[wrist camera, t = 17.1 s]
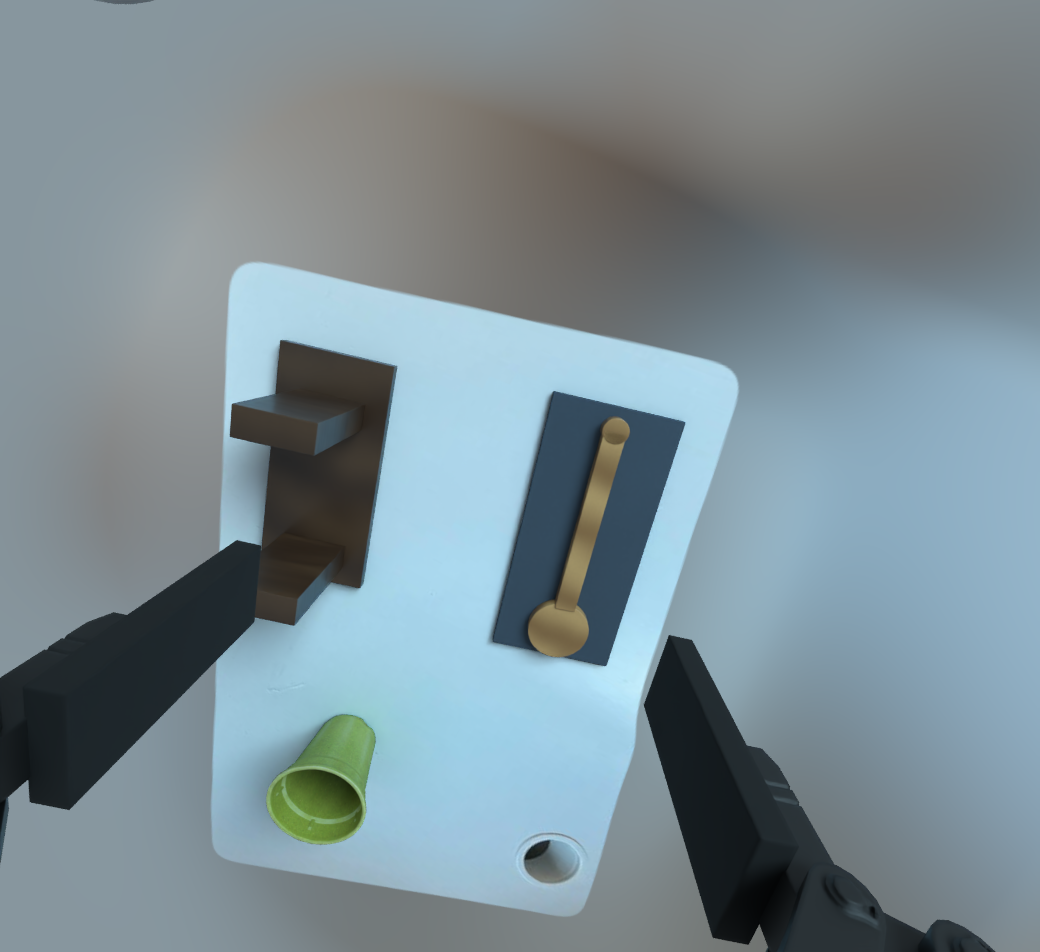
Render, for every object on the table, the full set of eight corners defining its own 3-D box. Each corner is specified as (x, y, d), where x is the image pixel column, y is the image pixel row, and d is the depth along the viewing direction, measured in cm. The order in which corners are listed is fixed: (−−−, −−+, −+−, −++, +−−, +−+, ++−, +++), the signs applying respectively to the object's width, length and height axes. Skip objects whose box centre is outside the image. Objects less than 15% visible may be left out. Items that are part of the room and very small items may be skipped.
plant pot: (304, 697, 54) (262, 763, 45) (391, 704, 54) (364, 772, 45) (308, 765, 56) (269, 840, 48) (390, 772, 56) (365, 848, 48)
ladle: (584, 408, 44) (586, 410, 42) (650, 424, 44) (653, 426, 43) (522, 644, 50) (521, 651, 49) (579, 656, 51) (580, 664, 49)
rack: (285, 339, 43) (205, 340, 33) (397, 366, 44) (353, 375, 33) (264, 562, 49) (191, 624, 39) (363, 583, 50) (317, 650, 39)
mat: (553, 390, 44) (554, 391, 43) (683, 421, 44) (685, 422, 44) (492, 638, 51) (492, 641, 50) (605, 662, 51) (606, 666, 51)
